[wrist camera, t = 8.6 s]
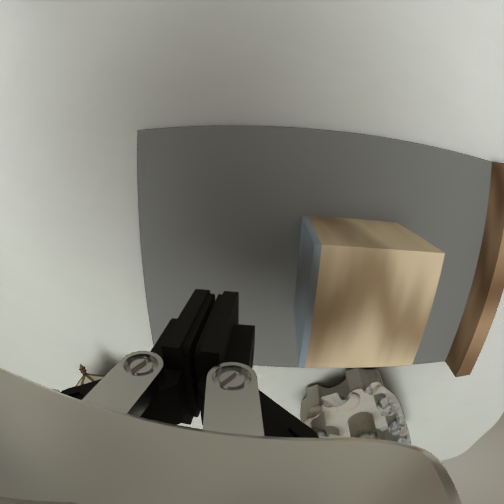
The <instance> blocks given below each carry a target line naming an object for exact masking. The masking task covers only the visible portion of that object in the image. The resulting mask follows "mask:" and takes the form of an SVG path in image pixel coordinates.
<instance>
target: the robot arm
mask: <svg viewBox="0 0 504 504" xmlns="http://www.w3.org/2000/svg"><path fill="white" fill-rule="evenodd" d="M254 345H255V325H242V324H239V293H238V292H232V291H224V292H223V294H218V296H217V298H216V301H215V294H211V293H210V290H204V289H195V290H194V292H193V294H192V295H191V297H190V299H189V300H188V302H187V304H186V305H185V307H184V309H183V310H182V312H181V313H180V315H179V317H178V318H177V319H176V318H172V319H171V320H170V321H169V323H168V324H167V326H166V328H165V329H164V331H163V332H162V334H161V336H160V337H159V339H158V340H157V342H156V344H155V345H154V347H153V348H152V350H151V352H149V351H137V352H132V353H130V354H128V355H126V356H125V357H123V358H122V359H121V360H120V361H119V362H118V363H117V364H116V365H115V366H114V367H113V368H112V369H111V370H110V371H109V372H108V373H107V374H106V375H105V377H104V378H102V379H99V380H96V381H92V382H89V383H86V384H82V385H79V386H75V387H72V388H68V389H66V390H63V391H62V392H60V391H59V390H56V389H50V388H47V387H45V386H42V385H40V384H37V383H35V382H32V381H30V380H28V379H25V378H23V377H21V376H18V375H16V374H13V373H11V372H9V371H6V370H4V369H2V368H0V504H462V503H461V500H460V498H459V495H458V492H457V490H456V488H455V485H454V483H453V481H452V479H451V477H450V476H449V474H448V472H447V470H446V469H445V467H444V466H443V464H442V463H441V462H440V461H439V459H438V458H437V457H435V456H434V455H433V454H432V453H430V452H428V451H427V450H425V449H422V448H419V447H417V446H413V445H410V444H405V443H400V442H395V441H390V440H379V439H367V438H356V437H347V436H339V435H332V434H330V435H329V437H322V436H318V434H317V433H316V432H315V431H314V430H313V429H312V428H310V427H309V426H307V425H306V424H305V423H303V422H302V421H300V420H299V419H297V418H296V417H295V416H293V415H292V414H290V413H289V412H288V411H286V410H285V409H284V408H282V407H281V406H280V405H278V404H277V403H276V402H274V401H273V400H272V399H270V398H269V397H268V396H266V395H265V394H264V393H262V392H261V391H260V390H259V389H258V381H257V376H256V373H255V371H254V370H253V369H252V367H253V358H254ZM200 412H201V419H202V425H203V429H197V428H191V427H185V426H179V425H177V424H180V423H185V424H190V425H191V422H192V419H193V416H194V417H198V416H199V413H200Z"/></svg>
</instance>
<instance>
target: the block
mask: <svg viewBox="0 0 504 504" xmlns="http://www.w3.org/2000/svg"><path fill="white" fill-rule="evenodd" d="M444 256H445V253H444V252H442V251H441V250H440V249H438V248H437V247H435V246H433V245H432V244H430V243H429V242H427V241H426V240H424V239H423V238H421V237H420V236H418V235H416V234H415V233H413V232H412V231H410V230H408V229H407V228H405V227H404V226H402V225H400V224H399V223H396V222H386V221H375V220H364V219H352V218H339V217H326V216H312V215H302V221H301V234H300V246H299V258H298V269H297V280H296V290H295V300H294V317H295V329H296V341H297V354H298V367H304V368H362V367H387V366H403V365H412V363H413V361H414V358H415V356H416V353H417V350H418V347H419V345H420V342H421V339H422V336H423V333H424V330H425V327H426V324H427V321H428V318H429V314H430V311H431V308H432V304H433V301H434V297H435V293H436V290H437V286H438V282H439V278H440V274H441V269H442V265H443V261H444Z"/></svg>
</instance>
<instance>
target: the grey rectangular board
mask: <svg viewBox="0 0 504 504" xmlns="http://www.w3.org/2000/svg"><path fill="white" fill-rule="evenodd" d="M491 168H492V162H490V161H487V160H484V159H480V158H477V157H473V156H469V155H466V154H462V153H458V152H454V151H450V150H446V149H441V148H437V147H432V146H428V145H423V144H418V143H413V142H408V141H402V140H397V139H391V138H385V137H378V136H372V135H365V134H357V133H349V132H340V131H331V130H320V129H308V128H294V127H275V126H191V127H172V128H158V129H146V130H138V137H137V178H138V208H139V226H140V241H141V253H142V264H143V274H144V283H145V291H146V299H147V307H148V314H149V321H150V327H151V334H152V340H153V346H154V345H155V344H156V342H157V340H158V339H159V337H160V336H161V334H162V332H163V331H164V329H165V328H166V326H167V324H168V323H169V321H170V320H171V319H172V318H176V319H177V318H178V317H179V315H180V313H181V312H182V310H183V309H184V307H185V305H186V304H187V302H188V300H189V299H190V297H191V295H192V294H193V292H194V290H195V289H204V290H210V293H211V294H215V301H216V298H217V296H218V294H223V292H224V291H232V292H238V293H239V324H242V325H255V345H254V358H253V365H258V366H275V367H298V354H297V341H296V329H295V317H294V300H295V290H296V280H297V269H298V258H299V246H300V234H301V221H302V215H312V216H326V217H339V218H352V219H364V220H375V221H386V222H396V223H399V224H400V225H402V226H404V227H405V228H407V229H408V230H410V231H412V232H413V233H415V234H416V235H418V236H420V237H421V238H423V239H424V240H426V241H427V242H429V243H430V244H432V245H433V246H435V247H437V248H438V249H440V250H441V251H442V252H444V253H445V256H444V261H443V265H442V269H441V274H440V278H439V282H438V286H437V290H436V293H435V297H434V301H433V304H432V308H431V311H430V314H429V318H428V321H427V324H426V327H425V330H424V333H423V336H422V339H421V342H420V345H419V347H418V350H417V353H416V356H415V358H414V361H413V363H412V364H423V363H433V362H442V361H445V360H446V358H447V355H448V353H449V351H450V348H451V346H452V343H453V340H454V338H455V335H456V332H457V330H458V327H459V324H460V321H461V318H462V315H463V312H464V309H465V306H466V303H467V299H468V296H469V293H470V289H471V286H472V282H473V278H474V274H475V270H476V266H477V262H478V258H479V253H480V248H481V244H482V238H483V233H484V227H485V221H486V215H487V208H488V200H489V191H490V181H491ZM301 368H304V367H301Z"/></svg>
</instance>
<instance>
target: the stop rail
mask: <svg viewBox="0 0 504 504" xmlns="http://www.w3.org/2000/svg"><path fill="white" fill-rule="evenodd" d="M503 289H504V163H496V162H492V168H491V181H490V191H489V200H488V208H487V215H486V221H485V227H484V233H483V238H482V244H481V248H480V253H479V258H478V262H477V266H476V270H475V274H474V278H473V282H472V286H471V289H470V293H469V296H468V299H467V303H466V306H465V309H464V312H463V315H462V318H461V321H460V324H459V327H458V330H457V332H456V335H455V338H454V340H453V343H452V346H451V348H450V351H449V353H448V355H447V358H446V360H445V362H446V363H447V365H448V366H449V368H450V369H451V371H452V372H453V374H454V375H455V377H459V376H465V375H470V373H471V371H472V369H473V367H474V365H475V363H476V360H477V358H478V356H479V354H480V352H481V349H482V347H483V345H484V342H485V340H486V337H487V335H488V332H489V330H490V327H491V324H492V322H493V319H494V316H495V313H496V311H497V308H498V305H499V302H500V299H501V295H502V292H503Z"/></svg>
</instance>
